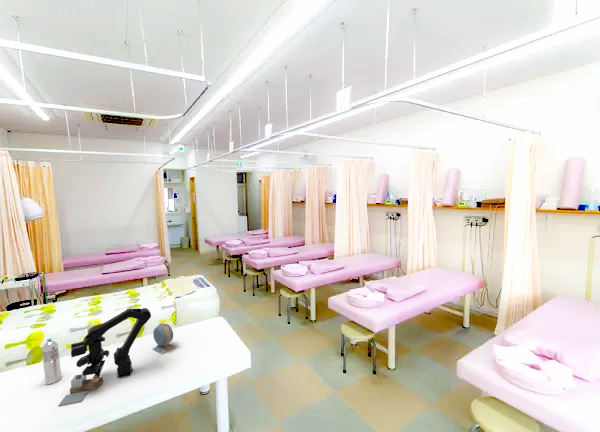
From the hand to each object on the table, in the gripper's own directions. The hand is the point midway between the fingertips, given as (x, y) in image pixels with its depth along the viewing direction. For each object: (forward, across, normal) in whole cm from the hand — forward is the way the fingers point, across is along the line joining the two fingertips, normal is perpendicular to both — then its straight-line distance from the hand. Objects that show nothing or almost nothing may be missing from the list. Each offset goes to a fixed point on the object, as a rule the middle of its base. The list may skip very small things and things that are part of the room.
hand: (97, 376), depth 153 cm
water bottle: (+4, -10, -26) cm, 28 cm away
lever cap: (+1, +2, -8) cm, 8 cm away
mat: (+4, +10, -7) cm, 13 cm away
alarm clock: (+4, -27, +29) cm, 40 cm away
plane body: (+4, +2, -4) cm, 6 cm away
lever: (+1, +3, 0) cm, 3 cm away
